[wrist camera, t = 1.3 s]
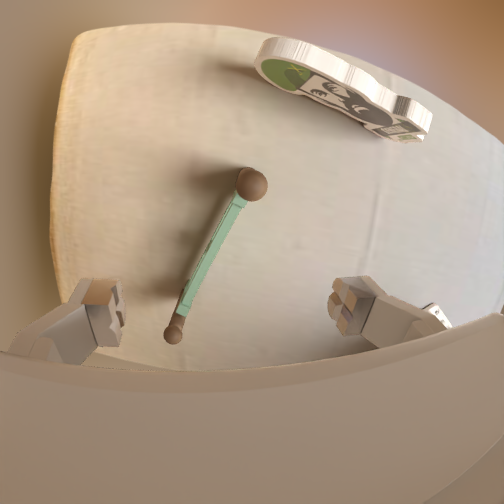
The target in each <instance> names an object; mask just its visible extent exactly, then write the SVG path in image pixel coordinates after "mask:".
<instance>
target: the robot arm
mask: <svg viewBox="0 0 504 504" xmlns="http://www.w3.org/2000/svg"><path fill="white" fill-rule="evenodd" d="M332 288H333V290H334V292H333V293H332V294H331V295H330V296H329V300H328V312H329V315H330V316H331V318H332V319H334V320H335V321H337V325H336V326H337V327H338V329H339V331H340V332H341V334H342V335H343V336H349V335H357V334H361V335H362V336H363V337H364V338H366V339H367V340H369V341H370V342H371V343H373V344H374V345H376V346H377V347H378V348H380V349H375V350H371V351H366V352H361V353H356V354H351V355H346V356H341V357H335V358H329V359H323V360H317V361H310V362H304V363H296V364H288V365H280V366H270V367H260V368H247V369H232V370H212V371H143V370H124V369H110V368H100V367H90V366H81V364H82V363H83V362H84V361H85V359H86V358H87V357H88V356H89V355H90V354H91V353H92V352H93V351H94V350H95V349H96V348H97V346H108V347H119V345H120V341H121V337H122V331H121V328H122V327H123V326H124V324H125V319H126V308H125V301H124V300H123V299H122V297H121V294H122V291H123V290H122V285H121V282H120V280H112V279H94V278H83V279H81V280H80V281H79V283H78V285H77V287H76V288H75V290H74V292H73V294H72V296H71V297H70V299H69V301H68V303H63V304H62V305H60V306H58V307H57V308H55V309H54V310H52V311H50V312H49V313H47V314H45V315H44V316H42V317H41V318H39V319H38V320H36V321H35V322H33V323H31V324H30V325H28V326H26V327H25V328H24V329H22V330H20V331H19V332H18V333H17V335H16V336H15V338H14V340H13V342H12V344H11V346H10V348H9V350H8V351H7V352H3V351H0V504H504V315H503V314H500V313H491V314H489V315H487V316H484V317H482V318H479V319H476V320H474V321H471V322H468V323H466V324H463V325H460V326H457V327H454V328H453V327H452V325H451V324H450V322H449V321H448V319H447V318H446V317H445V315H444V314H443V312H442V311H441V310H440V308H439V307H438V305H437V304H436V303H433V304H431V305H429V306H428V307H426V308H425V309H422V310H421V309H419V308H417V307H415V306H413V305H410V304H408V303H406V302H404V301H402V300H400V299H397V298H395V297H393V296H388V295H387V294H386V293H385V292H384V291H383V290H382V289H381V288H380V287H379V286H378V285H377V284H376V283H375V282H374V281H373V280H372V279H371V278H370V277H369V276H357V277H345V278H336V279H335V280H334V282H333V286H332Z"/></svg>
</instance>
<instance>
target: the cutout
mask: <svg viewBox="0 0 504 504" xmlns="http://www.w3.org/2000/svg"><path fill="white" fill-rule="evenodd" d="M254 63H255V64H254V65H255V69H256V70H257V72H258V73H259V74H260V75H261V76H262V77H263V78H264V79H265V80H267V81H268V82H269V83H271V84H273V85H274V86H276V87H277V88H279V89H281V90H283V91H286V92H289V93H292V94H297V95H303V94H304V95H307V96H309V97H310V98H312V99H314V100H316V101H318V102H320V103H322V104H324V105H327V106H329V107H332V108H335V109H338V110H340V111H341V112H343V113H345V114H347V115H348V116H350V117H352V118H354V119H356V120H359V121H361V122H364V125H363V126H364V127H365V128H366V129H368V130H370V131H371V132H373V133H375V134H376V135H378V136H380V137H382V138H385V139H389V140H392V141H396V142H402V143H408V142H422V141H423V138H424V135H426V134H427V133H428V130H429V126H430V123H431V119H432V114H431V112H430V111H428V110H427V109H426V108H424V107H423V106H422V105H420V104H419V103H418V102H416V101H415V100H413V99H411V98H407V97H403V96H398V95H396V94H395V93H394V92H392V91H391V90H389V89H387V88H385V87H384V86H382V85H380V84H379V83H377V81H376V80H375V79H374V78H373V77H372V76H370V75H369V74H368V73H366V72H365V71H363V70H361V69H359V68H357V67H355V66H353V65H350V64H348V63H346V62H345V61H343V60H342V59H340V58H338V57H336V56H334V55H332V54H330V53H328V52H326V51H324V50H322V49H320V48H318V47H316V46H314V45H311V44H308V43H305V42H302V41H299V40H295V39H290V38H283V37H274V38H269V39H267V40H265V41H264V42H263V44H262V46H261V48H260V50H259V53H258V55H257V57H256V59H255V62H254Z"/></svg>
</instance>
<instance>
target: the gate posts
mask: <svg viewBox="0 0 504 504" xmlns="http://www.w3.org/2000/svg"><path fill="white" fill-rule="evenodd" d="M267 188H268V184H267V180H266V178H265V176H264V175H263V174H262V173H260V172H259V171H256V170H255V169H253V168H250V167H246V168H244V169H242V170H241V171H240V172H239V175H238V178H237V181H236V191H237V193H238V195H239V196H240V197H241V198H242V199H244V200H246V201H257V200H259V199H261V198H262V197H263V196H264V195H265V194H266V191H267ZM184 289H185V288H184ZM184 289H183V290H182V292H181V294H180V297H179V299H178V302H177V304H176V307H175V310H174V312H173V315H172V318H171V320H170V323H169V326H168V327H167V328H166V329H165V330H164V339H165V340H166V342H168V343H169V344H177V343H179V342H180V341H181V339H182V328H183V325H184V322H185V318H186V317H184V316H182V315H180V314H178V313H176V310H177V308H178V305H179V302H180V299H181V297H182V294H183V291H184Z"/></svg>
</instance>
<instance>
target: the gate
mask: <svg viewBox="0 0 504 504" xmlns="http://www.w3.org/2000/svg"><path fill="white" fill-rule="evenodd" d="M247 202H248V201H246V200H244V199H242V198H241V197H240V196H239V195H238V193H237V191H236V190H235V192H234V194H233V198H232V200H231V202H230V204H229V206H228V208H227V210H226V211H225V213H224V215H223V217H222V219H221V221H220V223H219V225H218V227H217V228H216V230H215V232H214V234H213V236H212V238H211V240H210V242H209V244H208V246H207V248H206V250H205V252H204V253H203V255H202V257H201V259H200V261H199V263H198V265H197V267H196V269H195V271H194V273H193V275H192V277H191V279H190V280H188V282H187V284H186V286H185V289H184V291H183V294H182V297H181V299H180V302H179V305H178V308H177V310H176V313H178V314H180V315H182V316H184V317H186V316H187V314H188V312H189V310H190V308H191V304H192V301H193V298H194V297H195V295H196V293H197V291H198V289H199V287H200V285H201V283H202V281H203V279H204V277H205V275H206V273H207V272H208V270H209V268H210V266H211V264H212V262H213V260H214V258H215V256H216V255H217V253H218V251H219V249H220V247H221V245H222V243H223V241H224V240H225V238H226V236H227V234H228V232H229V230H230V229H231V227H232V225H233V223H234V221H235V219H236V218H237V216H238V214H239V212H240V210H241V209H242V208H244V207H245V206H246V204H247Z"/></svg>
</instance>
